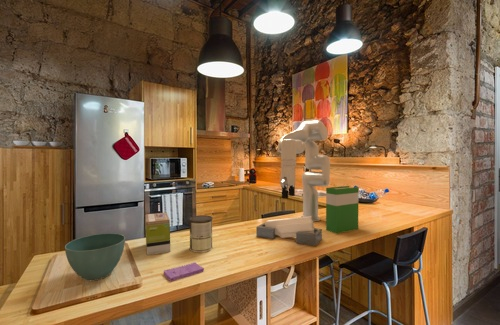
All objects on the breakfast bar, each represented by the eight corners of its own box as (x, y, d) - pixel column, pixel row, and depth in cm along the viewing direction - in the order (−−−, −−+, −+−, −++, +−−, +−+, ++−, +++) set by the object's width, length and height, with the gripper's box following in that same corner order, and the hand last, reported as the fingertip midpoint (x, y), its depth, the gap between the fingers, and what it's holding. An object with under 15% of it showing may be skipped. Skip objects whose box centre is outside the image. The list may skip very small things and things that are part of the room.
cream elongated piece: (314, 244, 123) (309, 217, 124) (267, 246, 135) (263, 222, 135) (317, 240, 128) (312, 215, 129) (271, 242, 139) (267, 219, 140)
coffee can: (185, 248, 117) (185, 217, 117) (204, 242, 124) (204, 214, 124) (197, 254, 110) (197, 221, 109) (217, 248, 117) (217, 217, 117)
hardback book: (347, 225, 153) (348, 185, 153) (358, 229, 147) (358, 187, 146) (326, 230, 145) (326, 187, 144) (336, 233, 139) (336, 189, 138)
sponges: (163, 275, 92) (163, 270, 92) (195, 266, 100) (195, 261, 100) (170, 283, 86) (170, 277, 86) (204, 272, 94) (204, 267, 94)
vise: (266, 230, 144) (266, 221, 144) (321, 238, 130) (321, 229, 130) (256, 236, 134) (256, 226, 134) (315, 246, 119) (315, 235, 119)
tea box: (145, 244, 123) (145, 213, 122) (167, 241, 127) (167, 211, 126) (146, 255, 109) (145, 221, 108) (170, 252, 113) (170, 218, 112)
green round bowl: (130, 277, 89) (129, 243, 89) (65, 294, 79) (64, 254, 78) (121, 260, 104) (120, 230, 104) (65, 272, 93) (65, 239, 93)
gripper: (287, 163, 140) (287, 194, 140) (275, 163, 125) (275, 198, 125) (300, 163, 136) (300, 195, 137) (289, 163, 121) (289, 200, 121)
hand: (288, 197), depth 131 cm, fingers open, 9 cm apart
